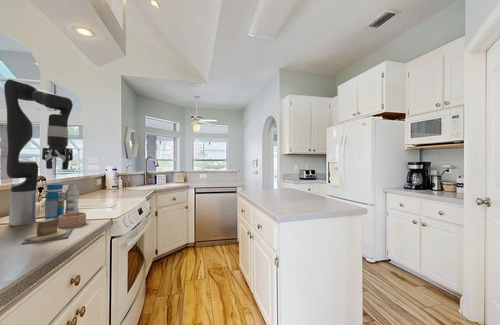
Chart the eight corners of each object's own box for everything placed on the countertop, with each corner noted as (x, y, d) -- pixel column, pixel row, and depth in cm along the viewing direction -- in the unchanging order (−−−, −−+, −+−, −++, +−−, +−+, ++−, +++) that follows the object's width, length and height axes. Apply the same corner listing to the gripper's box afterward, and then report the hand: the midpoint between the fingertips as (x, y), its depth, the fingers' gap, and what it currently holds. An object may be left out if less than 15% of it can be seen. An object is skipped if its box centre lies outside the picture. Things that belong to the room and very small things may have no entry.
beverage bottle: (44, 221, 119) (45, 185, 119) (44, 218, 124) (44, 183, 124) (65, 218, 125) (65, 184, 125) (63, 216, 130) (63, 183, 130)
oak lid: (16, 240, 89) (16, 223, 89) (48, 230, 101) (49, 216, 101) (45, 241, 87) (45, 225, 87) (74, 231, 100) (74, 217, 100)
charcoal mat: (21, 244, 86) (21, 243, 86) (32, 234, 98) (32, 233, 98) (67, 238, 93) (67, 237, 93) (72, 229, 105) (72, 228, 105)
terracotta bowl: (52, 226, 109) (52, 216, 109) (72, 221, 120) (72, 212, 120) (72, 227, 108) (72, 217, 108) (90, 221, 119) (91, 212, 119)
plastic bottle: (73, 219, 122) (73, 184, 122) (61, 219, 122) (61, 184, 122) (82, 217, 129) (82, 183, 129) (70, 216, 129) (71, 183, 129)
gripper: (36, 135, 103) (35, 168, 103) (63, 135, 102) (62, 170, 102) (52, 136, 111) (52, 168, 111) (78, 137, 109) (77, 169, 109)
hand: (57, 169), depth 106 cm, fingers open, 8 cm apart
